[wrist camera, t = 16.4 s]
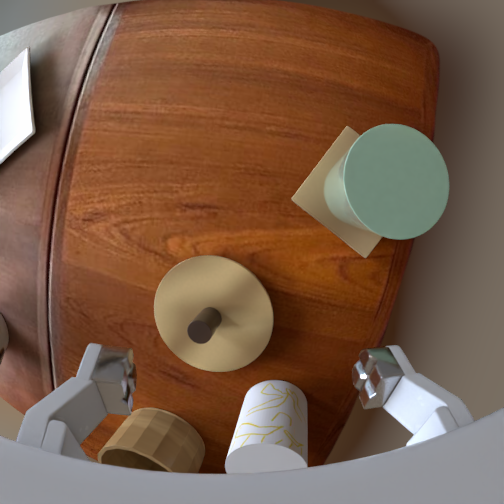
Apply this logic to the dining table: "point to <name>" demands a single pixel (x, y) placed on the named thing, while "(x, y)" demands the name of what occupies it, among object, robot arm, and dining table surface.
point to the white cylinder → (270, 430)
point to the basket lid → (214, 313)
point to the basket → (155, 443)
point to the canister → (389, 183)
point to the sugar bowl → (3, 337)
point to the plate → (16, 105)
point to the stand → (315, 203)
